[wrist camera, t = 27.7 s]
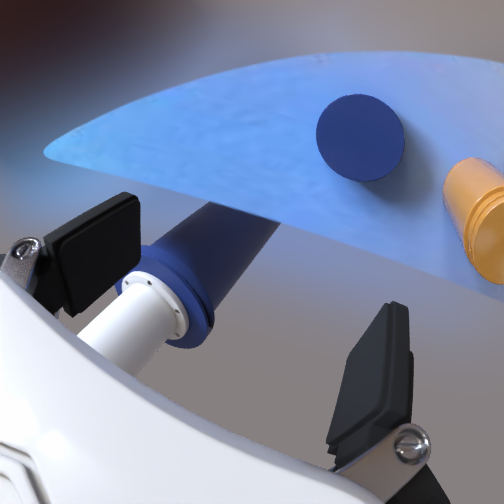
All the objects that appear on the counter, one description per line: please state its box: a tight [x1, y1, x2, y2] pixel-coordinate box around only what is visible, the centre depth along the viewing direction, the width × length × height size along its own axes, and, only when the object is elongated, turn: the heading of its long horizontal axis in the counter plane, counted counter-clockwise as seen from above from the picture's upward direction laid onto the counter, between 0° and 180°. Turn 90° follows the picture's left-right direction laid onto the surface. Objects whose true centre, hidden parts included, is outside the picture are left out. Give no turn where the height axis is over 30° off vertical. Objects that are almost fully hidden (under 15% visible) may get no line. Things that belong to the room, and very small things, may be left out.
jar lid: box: [316, 94, 405, 182], centre depth 20 cm, size 7×7×2 cm
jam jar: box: [443, 158, 504, 285], centre depth 15 cm, size 6×6×9 cm
